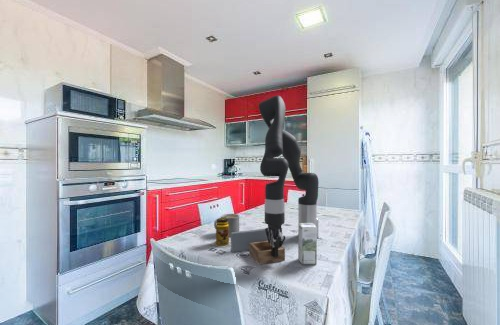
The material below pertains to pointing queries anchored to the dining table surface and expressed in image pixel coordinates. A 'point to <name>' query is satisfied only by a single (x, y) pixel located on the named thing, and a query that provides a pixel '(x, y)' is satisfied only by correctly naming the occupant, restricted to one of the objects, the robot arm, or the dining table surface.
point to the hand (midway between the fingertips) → (274, 256)
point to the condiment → (222, 233)
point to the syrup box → (307, 243)
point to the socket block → (265, 252)
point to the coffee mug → (231, 222)
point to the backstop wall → (246, 239)
